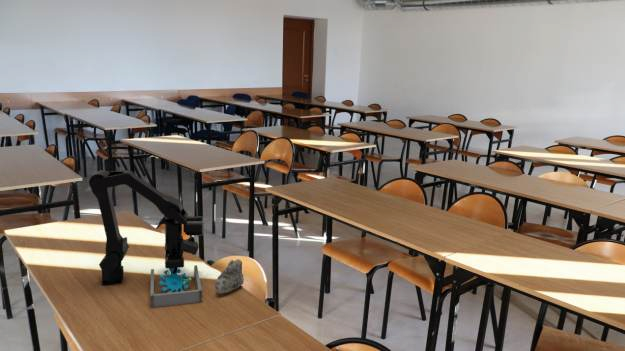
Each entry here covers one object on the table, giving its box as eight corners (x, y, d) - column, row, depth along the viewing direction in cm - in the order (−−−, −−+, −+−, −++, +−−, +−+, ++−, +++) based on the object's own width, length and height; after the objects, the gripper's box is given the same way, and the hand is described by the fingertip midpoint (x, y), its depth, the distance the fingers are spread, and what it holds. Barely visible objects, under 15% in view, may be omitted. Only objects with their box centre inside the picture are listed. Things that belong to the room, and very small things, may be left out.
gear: (161, 296, 152) (158, 268, 156) (156, 302, 156) (153, 274, 160) (194, 293, 158) (190, 265, 162) (188, 299, 162) (184, 272, 166)
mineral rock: (217, 298, 155) (217, 271, 153) (205, 285, 164) (204, 259, 162) (251, 289, 163) (252, 263, 160) (238, 277, 171) (238, 252, 169)
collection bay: (150, 307, 148) (150, 296, 147) (151, 279, 166) (150, 269, 165) (202, 301, 153) (202, 290, 152) (197, 275, 171) (196, 265, 170)
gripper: (199, 243, 157) (199, 285, 161) (195, 224, 174) (195, 263, 178) (164, 245, 154) (165, 288, 157) (164, 226, 171) (165, 265, 174)
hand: (174, 275), depth 167 cm, fingers closed
